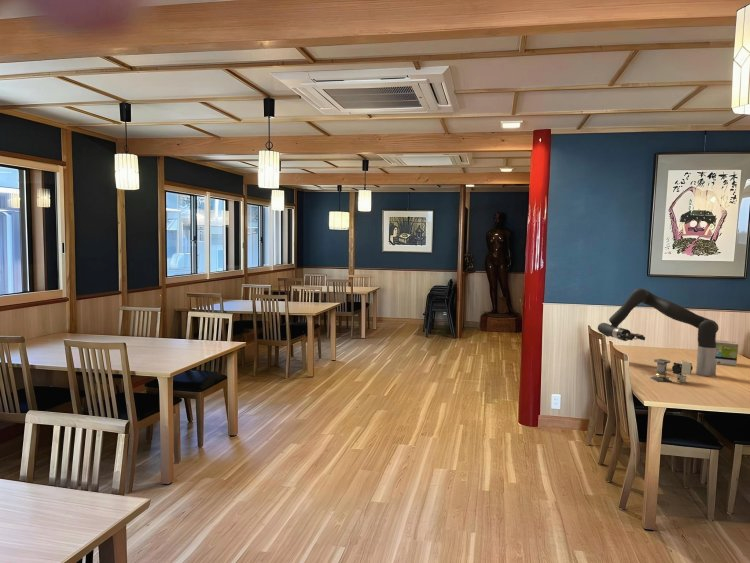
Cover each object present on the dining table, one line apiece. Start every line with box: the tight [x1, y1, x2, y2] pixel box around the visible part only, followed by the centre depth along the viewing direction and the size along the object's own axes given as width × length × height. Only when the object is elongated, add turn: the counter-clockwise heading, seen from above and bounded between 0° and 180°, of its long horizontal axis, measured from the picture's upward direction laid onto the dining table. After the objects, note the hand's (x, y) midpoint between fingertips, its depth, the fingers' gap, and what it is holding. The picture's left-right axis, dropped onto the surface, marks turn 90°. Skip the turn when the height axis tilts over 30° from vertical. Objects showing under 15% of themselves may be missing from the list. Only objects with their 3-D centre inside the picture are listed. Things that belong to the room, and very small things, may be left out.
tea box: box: [715, 339, 739, 366], centre depth 360 cm, size 15×10×15 cm, turn 68°
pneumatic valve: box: [671, 360, 694, 383], centre depth 307 cm, size 6×12×12 cm, turn 115°
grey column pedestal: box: [652, 358, 671, 381], centre depth 310 cm, size 6×6×11 cm
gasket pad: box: [650, 376, 673, 383], centre depth 310 cm, size 8×8×1 cm
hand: (638, 338), depth 330 cm, fingers open, 8 cm apart
